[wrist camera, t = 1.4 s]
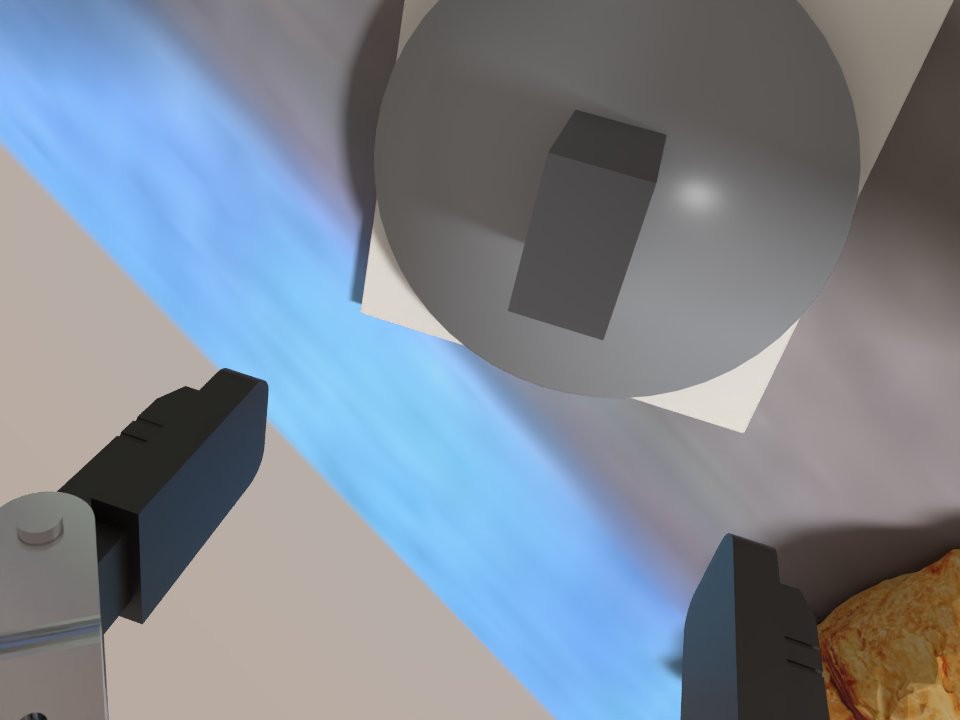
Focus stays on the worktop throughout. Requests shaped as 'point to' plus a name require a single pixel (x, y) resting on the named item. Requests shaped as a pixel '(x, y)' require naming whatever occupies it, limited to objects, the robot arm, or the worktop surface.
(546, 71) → the lid
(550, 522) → the worktop surface
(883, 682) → the croissant
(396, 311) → the mat
